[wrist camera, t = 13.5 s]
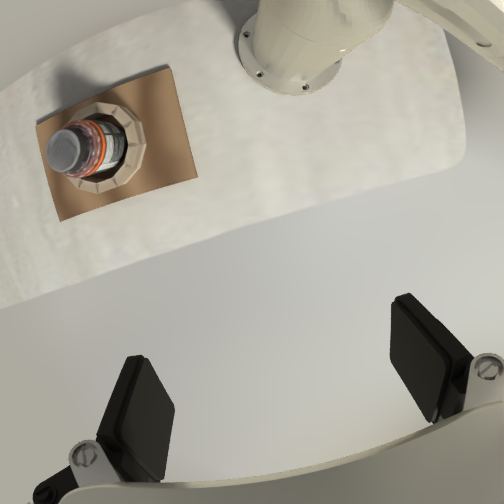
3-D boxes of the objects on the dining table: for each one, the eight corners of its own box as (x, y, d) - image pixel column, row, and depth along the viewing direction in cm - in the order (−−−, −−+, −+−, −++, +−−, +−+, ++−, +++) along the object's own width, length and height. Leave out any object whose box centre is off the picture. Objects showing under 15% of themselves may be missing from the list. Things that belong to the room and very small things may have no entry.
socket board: (171, 69, 31) (164, 61, 27) (197, 176, 36) (193, 180, 32) (39, 126, 31) (22, 126, 28) (63, 219, 36) (48, 227, 32)
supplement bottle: (81, 161, 33) (30, 172, 22) (96, 116, 31) (47, 111, 20) (120, 176, 34) (77, 191, 23) (136, 130, 32) (97, 126, 22)
